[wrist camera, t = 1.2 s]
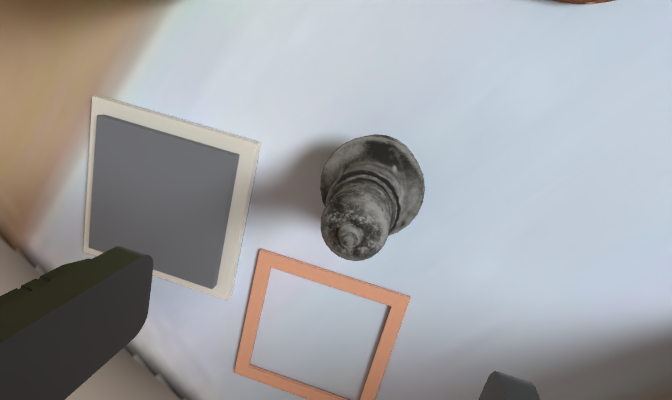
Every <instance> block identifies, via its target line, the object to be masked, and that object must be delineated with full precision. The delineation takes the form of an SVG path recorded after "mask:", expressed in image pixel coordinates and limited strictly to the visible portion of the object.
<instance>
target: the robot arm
mask: <svg viewBox="0 0 672 400" xmlns="http://www.w3.org/2000/svg"><path fill="white" fill-rule="evenodd" d="M152 274H153V259H152V257H151V256H150V255H147V254H144V253H141V252H138V251H135V250H132V249H129V248H126V247H123V246H116V247H114V248H112V249H110V250H108V251H106V252H104V253H102V254H100V255H99V256H97V257H95V258H93V259H85V260H81V261H77V262H73V263H69V264H65V265H62V266H60V267H58V268H56V269H54V270H52V271H50V272H48V273H46V274H44V275H42V276H40V278H39V279H34V280H32V281H30V282H28V283H26V284H24V285H22V286H21V288H20V289H17V288H16V289H14V290H12V291H10V292H8V293H6V294H4V295H2V296H0V400H65V399H66V398H67V397H68V396H69V395H70V394H71V393H72V392H74V391H75V390H76V389H77V388H78V387H79V386H80V385H81V384H83V383H84V382H85V381H86V380H87V379H88V378H90V377H91V376H92V375H93V374H94V373H95V372H96V371H97V370H99V369H100V368H101V367H102V366H103V365H104V364H105V363H106V362H108V361H109V360H110V359H111V358H112V357H113V356H114V355H115V354H117V353H118V352H119V351H120V350H121V349H122V348H123V347H125V346H126V345H127V344H128V343H129V342H130V341H131V340H132V339H133V338H135V336H136V335H137V334H138V333H139V331H140V330H141V328H142V327H143V325H144V323H145V320H146V318H147V314H148V308H149V299H150V291H151V282H152ZM479 400H540V399H539V396H538V394H537V391H536V389H535V387H534V385H533V384H532V383H530V382H527V381H524V380H521V379H518V378H515V377H512V376H509V375H506V374H503V373H500V372H496V371H495V372H493V373H492V374H491V375H490V376H489V378H488V380H487V382H486V384H485V387H484V389H483V391H482V393H481V395H480V398H479Z"/></svg>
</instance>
